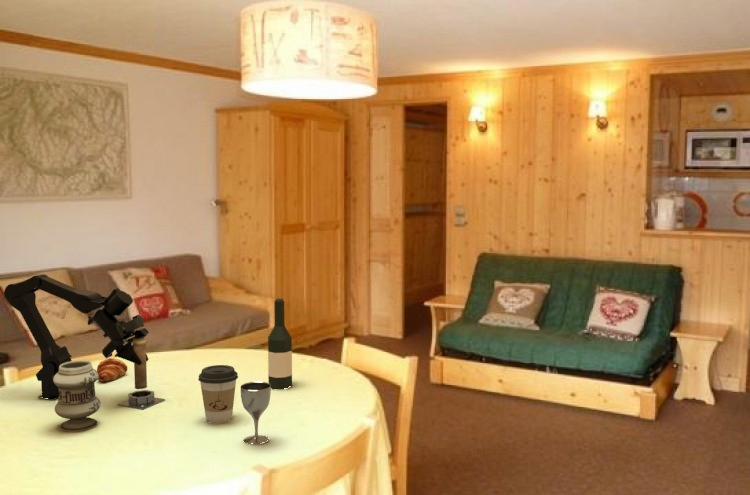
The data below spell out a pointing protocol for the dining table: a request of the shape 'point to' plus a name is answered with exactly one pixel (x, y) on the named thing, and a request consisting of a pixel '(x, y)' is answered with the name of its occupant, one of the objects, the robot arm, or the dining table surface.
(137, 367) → the tall ribbed vase
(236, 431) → the dining table surface
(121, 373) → the croissant
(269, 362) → the wine bottle
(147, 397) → the cup bracket
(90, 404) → the apothecary jar
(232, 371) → the coffee cup
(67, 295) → the robot arm
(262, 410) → the wine glass
